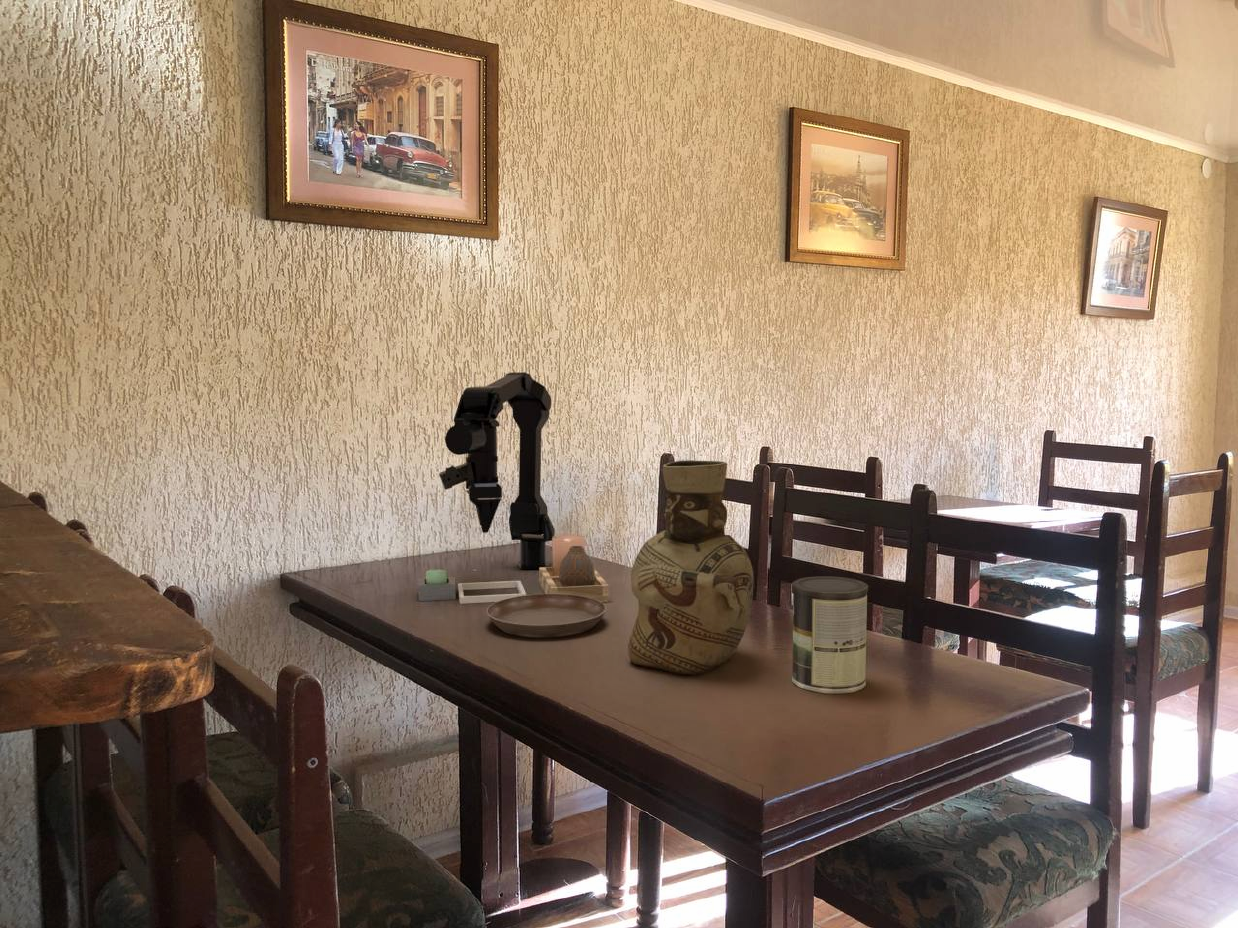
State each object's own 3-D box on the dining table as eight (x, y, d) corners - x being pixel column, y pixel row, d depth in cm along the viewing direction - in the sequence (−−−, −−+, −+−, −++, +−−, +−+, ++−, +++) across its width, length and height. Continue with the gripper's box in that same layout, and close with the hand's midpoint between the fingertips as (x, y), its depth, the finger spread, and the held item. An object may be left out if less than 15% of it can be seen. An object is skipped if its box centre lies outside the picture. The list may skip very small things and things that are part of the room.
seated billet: (550, 578, 203) (550, 535, 202) (582, 576, 204) (582, 533, 204) (554, 584, 197) (554, 540, 196) (587, 583, 198) (587, 539, 197)
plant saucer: (591, 645, 159) (591, 625, 158) (469, 638, 163) (469, 619, 162) (617, 614, 179) (617, 596, 179) (508, 609, 183) (507, 591, 183)
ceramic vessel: (660, 689, 136) (660, 472, 133) (608, 649, 155) (606, 460, 153) (781, 673, 143) (783, 467, 140) (716, 636, 162) (717, 455, 159)
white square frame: (457, 589, 199) (457, 583, 199) (520, 586, 201) (520, 580, 201) (459, 603, 186) (459, 597, 186) (526, 600, 189) (526, 594, 189)
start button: (426, 592, 194) (426, 569, 194) (447, 591, 195) (446, 568, 195) (426, 596, 190) (426, 573, 190) (447, 595, 191) (447, 572, 191)
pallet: (539, 582, 204) (539, 567, 204) (591, 580, 207) (591, 565, 206) (551, 604, 185) (551, 588, 185) (608, 602, 187) (608, 585, 187)
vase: (595, 587, 194) (595, 543, 193) (594, 595, 187) (593, 549, 187) (560, 587, 194) (560, 543, 194) (557, 595, 187) (557, 549, 187)
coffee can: (777, 684, 138) (778, 585, 136) (813, 666, 146) (814, 572, 144) (845, 699, 131) (847, 595, 130) (878, 680, 139) (880, 582, 138)
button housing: (418, 593, 195) (418, 578, 195) (454, 591, 197) (454, 576, 197) (418, 601, 189) (418, 585, 188) (455, 599, 190) (455, 584, 190)
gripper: (440, 448, 202) (442, 523, 204) (441, 455, 184) (443, 538, 186) (494, 447, 204) (496, 521, 206) (501, 454, 186) (502, 535, 188)
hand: (483, 528), depth 196 cm, fingers open, 9 cm apart
